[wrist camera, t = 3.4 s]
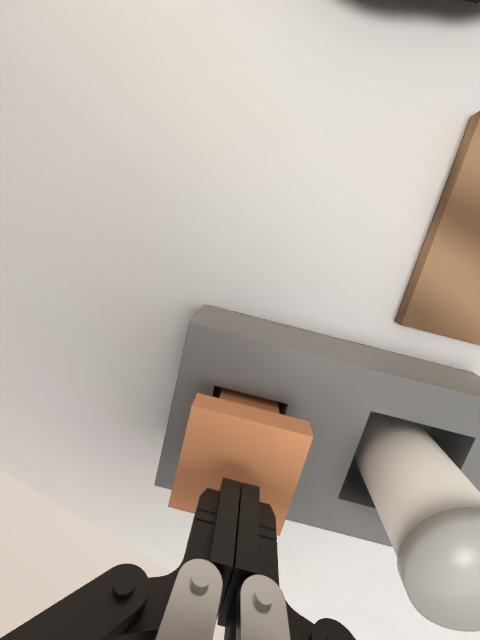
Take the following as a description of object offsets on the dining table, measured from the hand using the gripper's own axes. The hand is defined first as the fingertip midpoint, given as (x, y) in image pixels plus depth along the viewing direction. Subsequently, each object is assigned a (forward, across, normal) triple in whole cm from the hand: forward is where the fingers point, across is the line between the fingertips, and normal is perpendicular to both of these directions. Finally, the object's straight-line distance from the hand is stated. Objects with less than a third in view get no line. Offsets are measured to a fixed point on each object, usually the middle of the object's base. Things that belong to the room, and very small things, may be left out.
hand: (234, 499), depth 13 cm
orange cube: (+6, 0, 0) cm, 6 cm away
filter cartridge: (+10, -9, 0) cm, 13 cm away
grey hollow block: (+10, -5, 0) cm, 11 cm away
